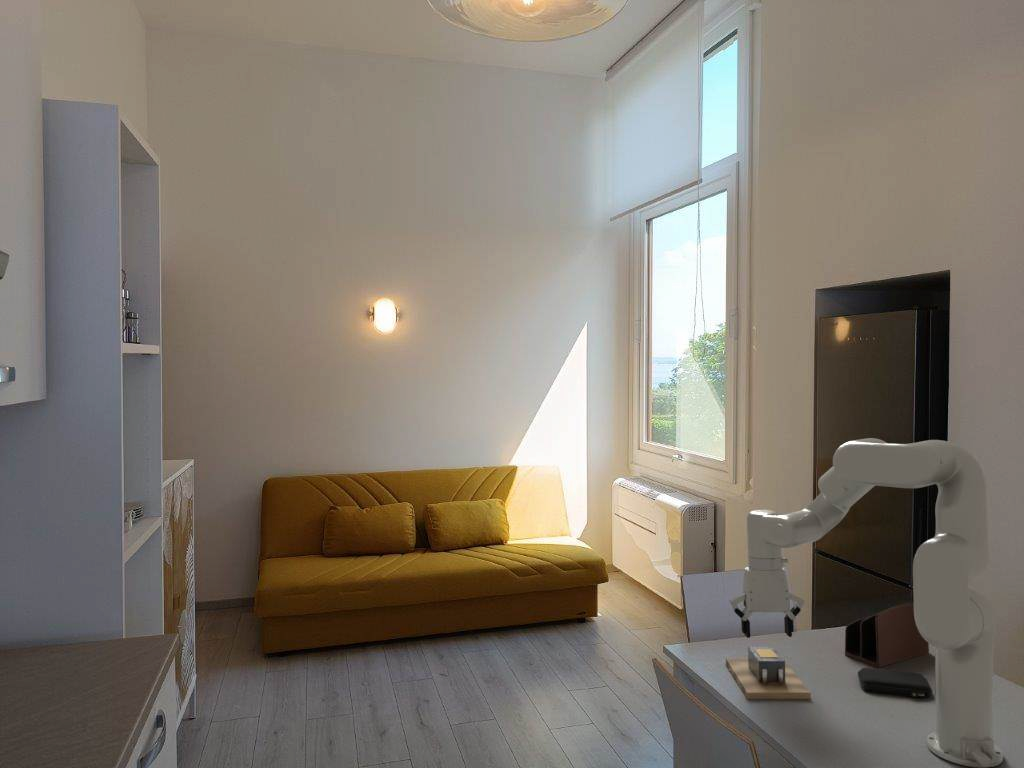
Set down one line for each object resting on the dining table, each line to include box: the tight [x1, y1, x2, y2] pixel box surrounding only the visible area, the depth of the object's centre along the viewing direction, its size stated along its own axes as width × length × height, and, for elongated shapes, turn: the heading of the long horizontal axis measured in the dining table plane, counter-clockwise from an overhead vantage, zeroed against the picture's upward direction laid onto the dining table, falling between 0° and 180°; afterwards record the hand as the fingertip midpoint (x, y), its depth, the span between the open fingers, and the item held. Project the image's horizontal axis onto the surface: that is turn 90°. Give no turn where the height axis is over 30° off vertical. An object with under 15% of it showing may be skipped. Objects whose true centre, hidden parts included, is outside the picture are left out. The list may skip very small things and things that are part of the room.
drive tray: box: [725, 657, 812, 700], centre depth 179 cm, size 20×14×5 cm
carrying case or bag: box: [857, 667, 933, 698], centre depth 173 cm, size 11×3×15 cm
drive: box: [747, 646, 786, 683], centre depth 179 cm, size 9×6×5 cm, turn 178°
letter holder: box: [844, 602, 930, 669], centre depth 194 cm, size 10×20×14 cm, turn 118°
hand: (767, 635), depth 178 cm, fingers open, 9 cm apart
